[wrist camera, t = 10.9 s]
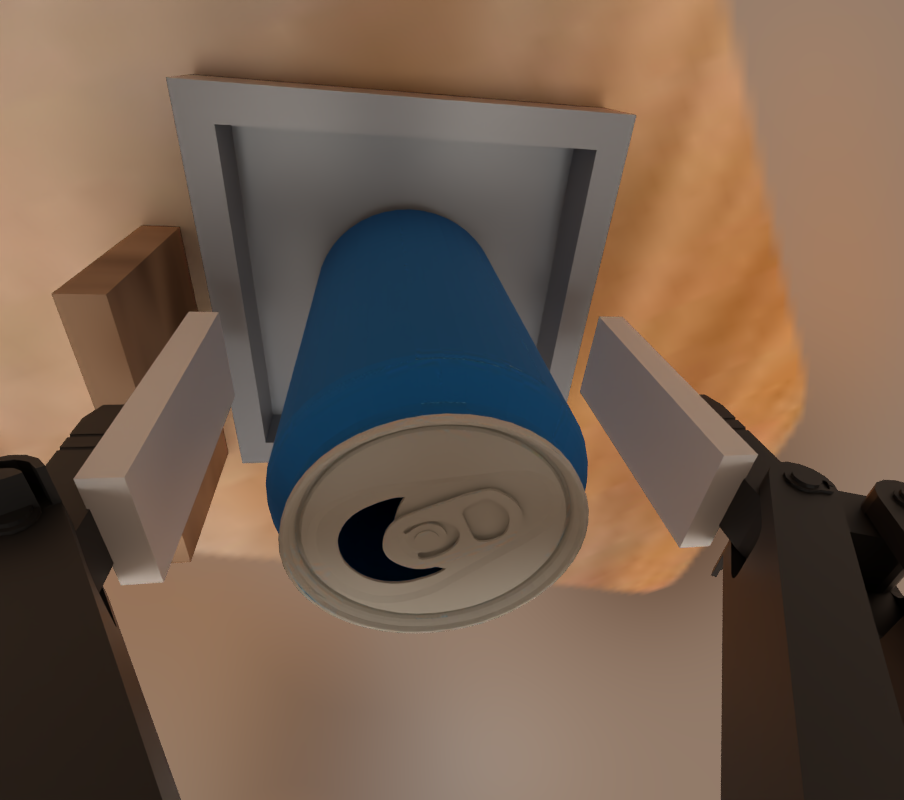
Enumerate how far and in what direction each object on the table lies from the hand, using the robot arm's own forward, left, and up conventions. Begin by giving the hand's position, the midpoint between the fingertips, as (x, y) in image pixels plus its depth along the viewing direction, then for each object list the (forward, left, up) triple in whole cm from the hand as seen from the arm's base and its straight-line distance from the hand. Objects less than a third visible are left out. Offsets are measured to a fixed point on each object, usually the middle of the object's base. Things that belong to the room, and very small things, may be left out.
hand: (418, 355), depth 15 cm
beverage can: (0, 0, -5) cm, 5 cm away
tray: (0, 0, -5) cm, 5 cm away
